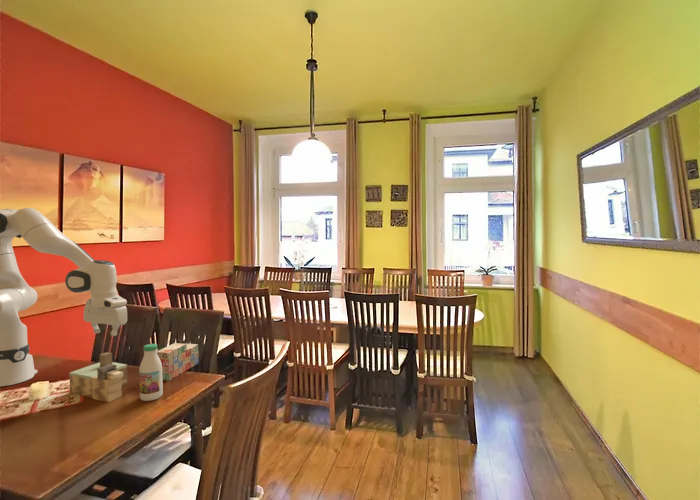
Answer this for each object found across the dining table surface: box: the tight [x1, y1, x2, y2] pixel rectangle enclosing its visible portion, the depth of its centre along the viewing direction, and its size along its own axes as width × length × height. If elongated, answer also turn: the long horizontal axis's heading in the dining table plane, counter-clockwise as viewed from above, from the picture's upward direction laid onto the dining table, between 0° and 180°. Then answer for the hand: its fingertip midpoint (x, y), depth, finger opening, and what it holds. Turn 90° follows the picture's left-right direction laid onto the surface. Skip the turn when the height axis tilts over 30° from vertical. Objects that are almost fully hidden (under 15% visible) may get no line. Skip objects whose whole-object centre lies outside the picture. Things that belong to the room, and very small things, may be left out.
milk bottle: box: [138, 343, 164, 402], centre depth 139 cm, size 8×8×20 cm
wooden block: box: [105, 370, 123, 380], centre depth 138 cm, size 9×3×2 cm, turn 71°
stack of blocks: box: [157, 342, 200, 382], centre depth 165 cm, size 21×6×12 cm, turn 169°
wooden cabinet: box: [69, 364, 128, 403], centre depth 145 cm, size 22×15×12 cm
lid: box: [69, 351, 128, 379], centre depth 147 cm, size 13×14×6 cm
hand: (105, 334), depth 149 cm, fingers open, 8 cm apart
